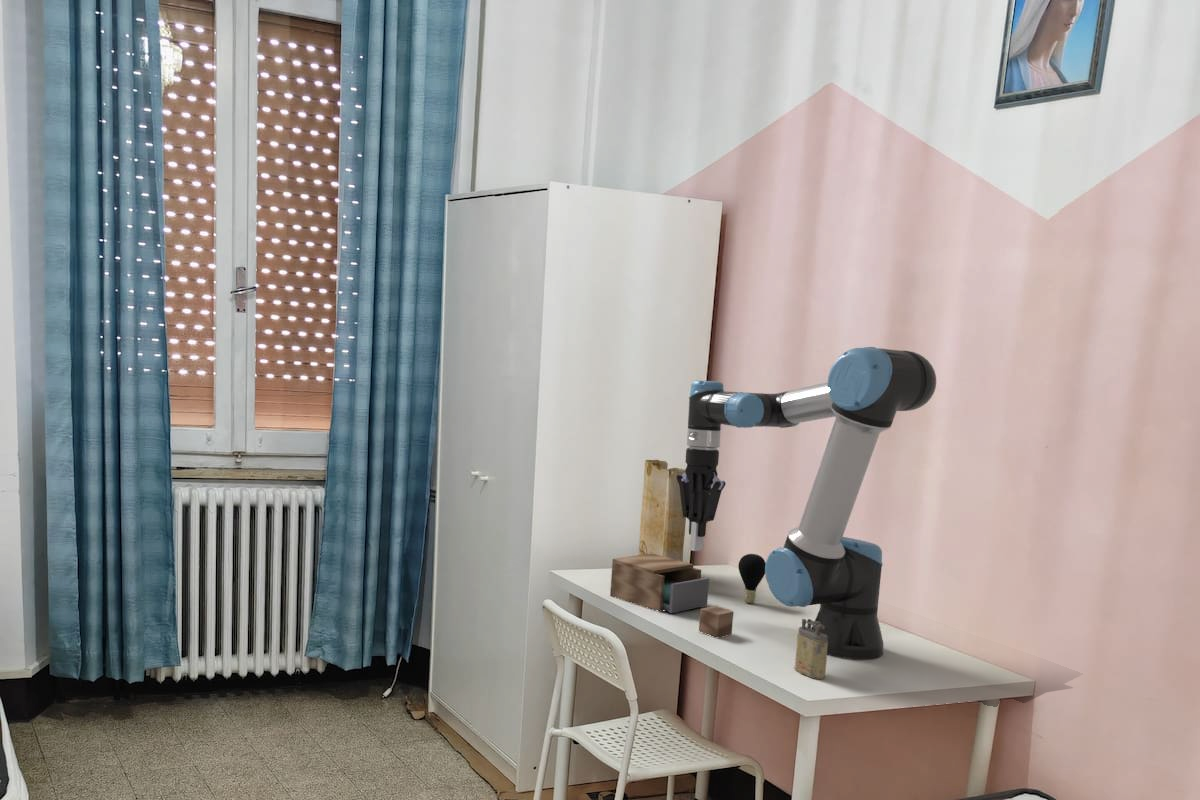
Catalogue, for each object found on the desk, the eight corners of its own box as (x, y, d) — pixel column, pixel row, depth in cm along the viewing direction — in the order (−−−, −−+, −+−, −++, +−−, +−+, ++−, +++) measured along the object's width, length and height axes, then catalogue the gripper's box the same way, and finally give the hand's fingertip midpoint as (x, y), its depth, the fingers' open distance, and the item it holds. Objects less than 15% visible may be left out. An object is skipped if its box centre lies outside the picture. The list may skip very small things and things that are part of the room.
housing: (698, 603, 233) (701, 566, 233) (659, 611, 224) (662, 573, 223) (649, 588, 245) (652, 553, 244) (610, 595, 235) (612, 558, 235)
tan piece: (634, 566, 269) (642, 458, 268) (656, 566, 271) (664, 459, 269) (659, 588, 247) (668, 469, 245) (682, 588, 248) (691, 470, 246)
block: (731, 634, 209) (733, 611, 209) (716, 638, 206) (718, 614, 206) (713, 628, 213) (715, 605, 213) (698, 632, 209) (700, 609, 209)
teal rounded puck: (666, 593, 237) (667, 579, 236) (692, 600, 231) (693, 586, 231) (644, 597, 231) (645, 583, 231) (671, 605, 225) (672, 590, 225)
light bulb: (755, 608, 233) (759, 558, 232) (730, 602, 237) (734, 553, 236) (768, 603, 238) (772, 555, 238) (743, 598, 242) (747, 550, 242)
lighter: (829, 678, 184) (833, 626, 184) (813, 680, 183) (817, 628, 182) (804, 666, 191) (808, 616, 190) (789, 668, 189) (793, 617, 188)
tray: (707, 605, 231) (709, 578, 230) (671, 612, 222) (673, 584, 221) (651, 588, 243) (653, 562, 243) (616, 595, 235) (617, 568, 234)
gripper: (670, 445, 226) (664, 546, 227) (714, 451, 217) (707, 556, 218) (691, 444, 231) (685, 543, 232) (735, 450, 222) (728, 553, 223)
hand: (696, 549), depth 225 cm, fingers closed
